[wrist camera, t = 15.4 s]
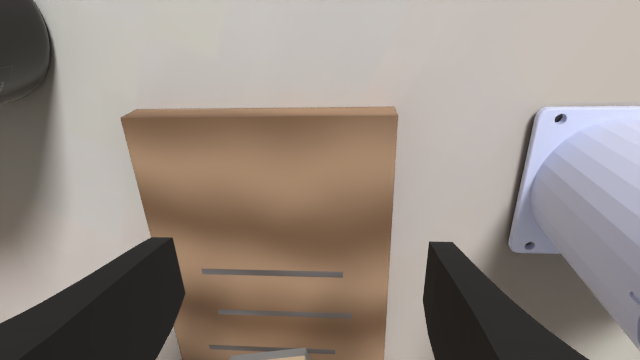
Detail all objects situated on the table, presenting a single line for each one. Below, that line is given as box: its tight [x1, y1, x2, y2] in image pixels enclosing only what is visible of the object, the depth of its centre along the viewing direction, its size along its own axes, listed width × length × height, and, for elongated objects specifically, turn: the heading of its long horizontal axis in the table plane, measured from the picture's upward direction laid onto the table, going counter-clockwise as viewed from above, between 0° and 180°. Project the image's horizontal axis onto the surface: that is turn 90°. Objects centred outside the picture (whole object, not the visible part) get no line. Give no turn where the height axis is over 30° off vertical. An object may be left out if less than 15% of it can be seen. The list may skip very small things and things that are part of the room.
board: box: [121, 107, 398, 360], centre depth 24 cm, size 24×13×2 cm, turn 2°
